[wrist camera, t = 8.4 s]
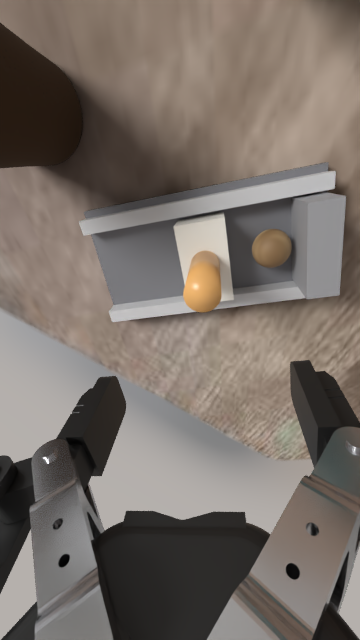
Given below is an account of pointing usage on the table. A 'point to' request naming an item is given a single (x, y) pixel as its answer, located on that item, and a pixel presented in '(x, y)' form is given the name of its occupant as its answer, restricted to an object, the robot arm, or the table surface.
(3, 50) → the olive oil
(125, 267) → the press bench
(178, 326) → the table surface
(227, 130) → the table surface
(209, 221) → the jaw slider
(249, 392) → the table surface
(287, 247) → the walnut
